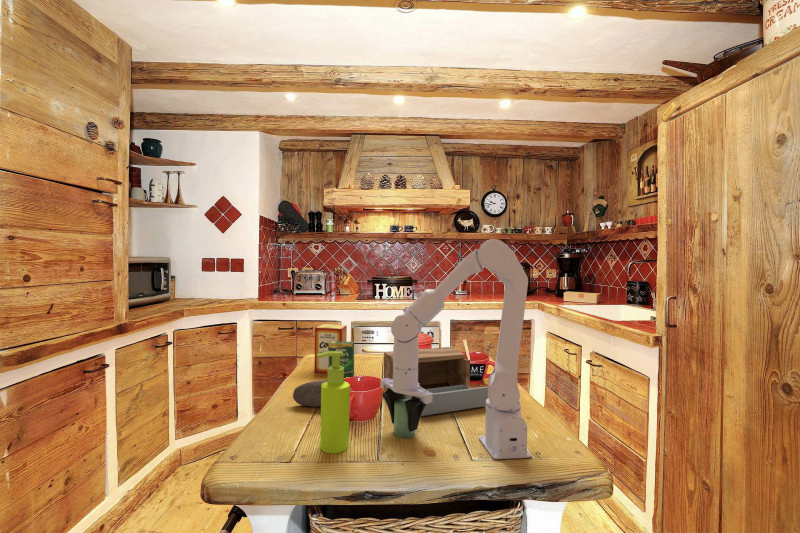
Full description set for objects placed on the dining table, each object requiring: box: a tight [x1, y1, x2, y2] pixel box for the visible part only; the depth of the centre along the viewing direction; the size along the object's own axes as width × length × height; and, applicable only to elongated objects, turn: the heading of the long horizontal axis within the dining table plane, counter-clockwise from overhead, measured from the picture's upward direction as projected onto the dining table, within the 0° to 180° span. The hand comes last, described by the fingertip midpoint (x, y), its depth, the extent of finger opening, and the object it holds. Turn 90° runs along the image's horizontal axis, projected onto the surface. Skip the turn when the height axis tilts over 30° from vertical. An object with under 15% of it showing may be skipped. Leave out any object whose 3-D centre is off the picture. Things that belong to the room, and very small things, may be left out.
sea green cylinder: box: [393, 398, 416, 439], centre depth 88 cm, size 5×5×7 cm
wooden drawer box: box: [382, 346, 471, 392], centre depth 116 cm, size 13×23×11 cm, turn 113°
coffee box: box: [329, 341, 355, 378], centre depth 122 cm, size 8×3×13 cm, turn 86°
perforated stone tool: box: [292, 379, 328, 408], centre depth 103 cm, size 15×5×7 cm, turn 88°
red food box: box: [313, 323, 348, 374], centre depth 136 cm, size 10×6×16 cm
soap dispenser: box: [316, 351, 351, 454], centre depth 81 cm, size 6×7×20 cm
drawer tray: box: [404, 384, 489, 417], centre depth 105 cm, size 11×21×5 cm, turn 113°
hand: (404, 426), depth 88 cm, fingers closed on sea green cylinder, 5 cm apart
